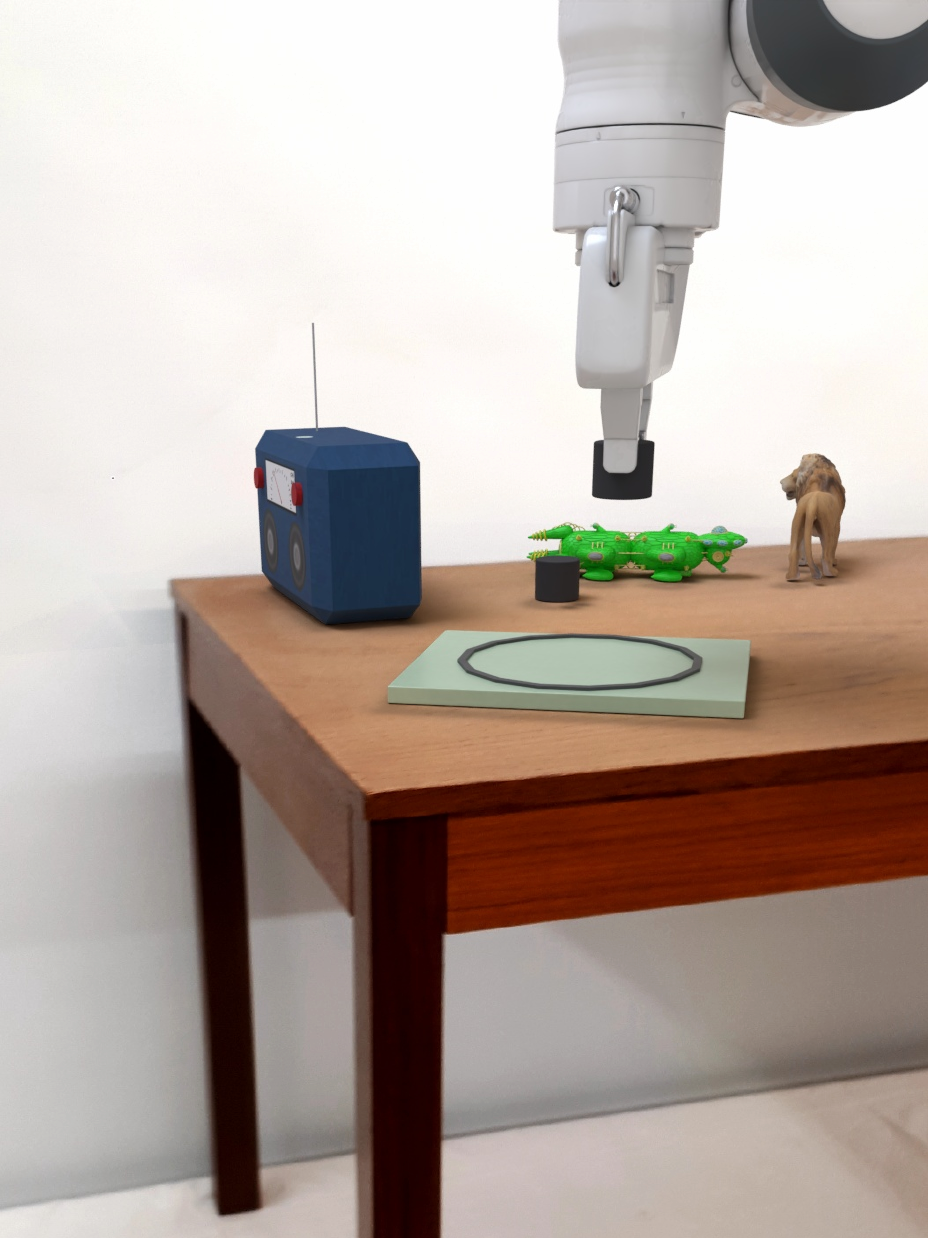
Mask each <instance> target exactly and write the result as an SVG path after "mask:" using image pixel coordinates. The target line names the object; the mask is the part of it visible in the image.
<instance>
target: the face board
mask: <svg viewBox="0 0 928 1238" xmlns="http://www.w3.org/2000/svg"><path fill="white" fill-rule="evenodd" d="M751 647H752V640H751V639H735V638H734V639H732V638H702V637H701V638H699V637H675V636H674V637H673V636H672V637H670V636H640V635H639V636H637V635H622V634H621V635H620V634H608V633H607V634H603V633H601V634H600V633H576V632H575V633H573V632H572V633H569V632H568V633H551V632H549V633H548V632H521V631H519V632H518V631H517V632H516V631H486V630H457V629H456V630H453V629H446V630H444V631H443V632H442V633H441V634H440V635H438V637H437V638H436V639H435V640H434V641H433V642H432V643H431V644H430V645H429V646H428V647H427V648H426V649H425V650H423V651H422V652H421V654H419V655H418V656H417V657H416V658H415V659H414V660H413V661H412V662H411V663H410V664H409V665H408V666H407V667H406V668H405V669H404V670H403V671H402V672H401V673H399V675H398V676H397V677H396V678H395V679H393V680H392V681H391V683H389V684H388V686H387V703H388V704H403V705H423V706H426V705H427V706H449V707H469V708H470V707H472V708H473V707H474V708H495V709H499V708H500V709H514V710H515V709H517V710H519V709H520V710H539V711H540V710H541V711H563V712H564V711H565V712H587V713H608V714H609V713H610V714H630V715H633V714H634V715H653V716H654V715H655V716H656V715H657V716H678V717H679V716H680V717H698V718H699V717H700V718H721V719H724V718H727V719H744V718H745V712H746V711H745V710H746V709H745V708H746V700H747V690H748V682H749V681H748V680H749V669H750V660H751Z"/></svg>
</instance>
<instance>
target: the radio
mask: <svg viewBox="0 0 928 1238" xmlns="http://www.w3.org/2000/svg"><path fill="white" fill-rule="evenodd" d="M311 335H312V337H311V338H312V362H313V363H312V364H313V365H312V366H313V388H314V389H313V390H314V412H315V413H314V414H315V415H314V416H315V417H314V418H315V427H304V428H301V427H300V428H280V429H279V428H277V429H265V430H264V432H263V434H262V435H261V438H260V439H259V441H258V442H257V444H256V446H255V448H254V452H255V467H254V468H253V483H254V488H255V489H256V490H257V491H256V492H257V508H258V509H257V510H258V526H259V527H258V529H259V545H260V564H261V565H260V566H261V572H262V574H263V575H264V576H265V578H266V579H267V580H268V582H269V583H270V584H271V586H272V587H273V588H274V589H275V590H277V591H279V592H280V593H281V594H282V595H284V596H285V597H286V598H287V599H289V600H290V601H292V602H293V603H294V604H296V605H297V606H299V607H301V608H302V609H303V610H305V612H307V613H309V614H310V615H311V616H313V617H314V618H315V619H317V620H318V621H320V622H321V623H323V624H324V625H335V624H347V623H358V622H359V623H361V622H372V621H386V620H399V619H410V618H412V616H413V614H414V613H415V612H416V611H417V609H418V608H419V606H420V605H421V603H422V598H423V586H422V585H423V584H422V583H423V581H422V579H423V578H422V574H423V573H422V515H421V514H422V508H421V507H422V505H421V504H422V503H421V499H422V497H421V494H422V493H421V461H420V460H419V457H417V455H416V453H415V452H414V450H413V449H412V447H411V445H410V444H409V442H407V441H403V440H399V439H396V438H392V437H387V436H383V435H379V434H376V433H372V432H369V431H363V430H359V429H356V428H352V427H349V426H326V427H325V426H323V427H319V419H318V393H317V392H318V389H317V368H316V367H317V365H316V340H315V338H316V337H315V336H316V335H315V322H311Z"/></svg>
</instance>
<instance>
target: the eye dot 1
mask: <svg viewBox="0 0 928 1238" xmlns="http://www.w3.org/2000/svg"><path fill="white" fill-rule="evenodd" d="M534 563H535V566H534V567H535V570H534V571H535V572H534V598H535V600H536V601H540V602H548V603H549V602H550V603H567V602H573V601H574V602H575V601H576V600H579V598H580V576H581V575H580V573H581V569H580V559H579V558H577V557H573V556H561V555H555V556H543V557H538V558H536V560H535V562H534Z"/></svg>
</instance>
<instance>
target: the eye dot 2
mask: <svg viewBox="0 0 928 1238" xmlns="http://www.w3.org/2000/svg"><path fill="white" fill-rule="evenodd" d="M655 446H656V443H655V441H653V440H650V439H646V440H640V439H639V451H638V464H637V466H636V467H635V469H634V470H633V471H632V472H630V473H609V472H607V471H606V470H605V469H604V466H603V453H604V439H598V440H595V441H594V442H593V451H592V452H593V455H592V479H591V481H592V483H591V496H592V497H593V498H594V499H600V500H611V501H636V500H639V501H640V500H645V499H649V498H652V497H653V486H654V482H653V481H654V467H655V465H654V464H655Z"/></svg>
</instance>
